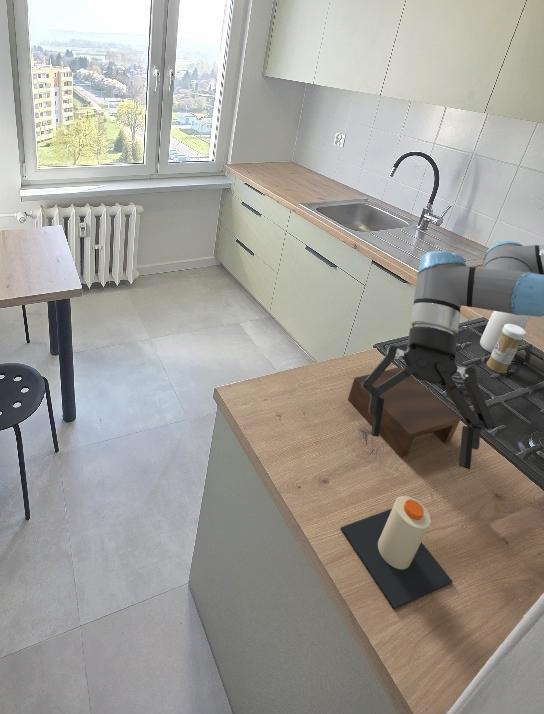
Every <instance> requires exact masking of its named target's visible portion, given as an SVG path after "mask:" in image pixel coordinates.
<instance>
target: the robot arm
mask: <svg viewBox="0 0 544 714" xmlns="http://www.w3.org/2000/svg"><path fill="white" fill-rule="evenodd" d="M461 307H467V308H475V309H480V310H481V309H482V310H487V311H492V312H493V311H498V312H504V313H510V314H514V315H527V316H528V317H535V318H537V317H538V318H540V317H541V318H542V317H544V244H535V245H523V244H522V243H519V242H517V241H512V240H503V241H499V242H496V243H494V244H492V245H491V246H490V247H489V248H488V249H487V251H486V253H485V254H484V257H483V261H482V267H475V266H468V265H467V264H466V259H465V257H463V256H462V255H461V254H458V253H457V252H449V251H447V250H432V251H428V252H425V253H424V254H423V255H422V256H421V258H420V262H419V267H418V271H417V272H416V282H415V289H414V296H413V306H412V311H411V318H410V325H411V326H412V327H410V328H409V332H408V337H407V346H406V348H405V350H403V349H400V348H397V346H396V345H394V344H391V345H390V346H388V347H387V348H386V352H385V355H384V357H383V358H382V360H381V361H380V362H379V363H378V364H377V365H376V366H375V368H374V369H373V370H372V371H371V372H370V373H369V374H370V375H369V374H368V375H369V376H368V377H367V378H366V380H365V381H364V382H363V383H362V384H361V387H362V389H364V390H366V391H367V392H368V393H369V394H370V396H371V397H370V403H369V409H368V411H369V414H372V415H374V419H373V425H372V426H371V432H370V433H371V434H370V435H371V436H373V437H377V438H379V436H380V434H379V430H380V423H381V417H382V411H383V404H384V399H383V398H379V397H380V395H381V394H383V393H384V392H386V391H387V390H389V389H390V388H392V387H393V386H395V385H396V384H398V383H399V382H401V381H402V380H404V379H406V378H407V377H409V376H410V375H411V376H412V377H413V378H414V379H415V380H417V381H426V382H427V383H429V384H432V385H440V386H441V387H442V389H443V391H445V392H446V393H447V395H448V397H449V398H450V400H451V401H452V403H453V404H454V406H455V407H456V409H457V411H458V412H459V414H460V415H461V417H462V418H463V420H464V421H465V422H466V424H467V425H462V427H461V428H462V429H461V439H460V448H459V450H460V451H459V457H458V459H459V460H458V467H461V468H463V469H466V470H471V464H472V455H473V454H472V453H473V450H476V451H477V450H478V449H479V448H480V440H481V432H482V430H494V429H496V424H495V422H494V419H493V417H492V414H491V412H490V410H489V407H488V405H487V402H486V400H485V398H484V395H483V393H482V391H481V388H480V386H479V383H478V382H477V381H478V380H477V370H476V368H474V367H473V366H469V367H465V366H459V365H457V362H456V354H457V345H458V338H457V336H456V335H458V334H459V329H460V316H461ZM401 357H402V359H403V361H404V362H405V364H406V366H407V367H405V368H402V369H403V370H402V371H400V372H399V373H398V374H396V375H395V376H393V377H391V378H390V379H388V380H387V381H385V382H384V383H382V384H381V385H379V386H378V387H376V388H374V387H373V386H372V385H373V384H374V382H375V381H376V380H377V379H378V378H379V377H380V375H381V374H382V373H383V372H384V371H385V370H387V368H388V367H389V366H390V365H391V364H392V363H393V361H394V360H395V361H396V360H399V359H400V358H401ZM455 374H458V376H459V378H460V379H461V380H462V381H463V384H464V387H465V390H466V392H467V395H468V397H469V399H470V403H471V404H472V406H473V409H474V411H473V410H472V408H471V406H470V405H469V404H468V402H467V400H466V399H465V397H464V396H463V395H462V393H461V391H460V390H459V389H458V386H457V384H456V383H455V381H454V379H453V377H452V376H454V375H455Z"/></svg>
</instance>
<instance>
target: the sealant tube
mask: <svg viewBox="0 0 544 714" xmlns="http://www.w3.org/2000/svg"><path fill="white" fill-rule="evenodd" d="M391 509H392V510H391V513H390V515H389V517H388V520H387V522H386V524H385V527H384V529H383V531H382V534H381V536H380V539H379V541H378V549H379V552H380V554H381V556H382V557H383V559H384V560H385V561H386V562H387V563H388V564H389V565H391V566H392V567H394V568H397V569H406V568H408V567H409V566H410V564H411V562H412V560H413V558H414V556H415V554H416V552H417V550H418V548H419V546H420V544H421V542H422V541H423V539H424V538H425V536H426V534H427V532H428V529H429V527H430V526H431V522H432V521H431V515H430V512H429V511H428V509H427V508H426V507H425V505H424V504H422V503H421V502H420V501H418V500H417V499H415V498H413V497H411V496H407V495H400V496H398V497H397V498H395V501H394V503H393V506H392V508H391ZM422 543H423V542H422Z"/></svg>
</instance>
